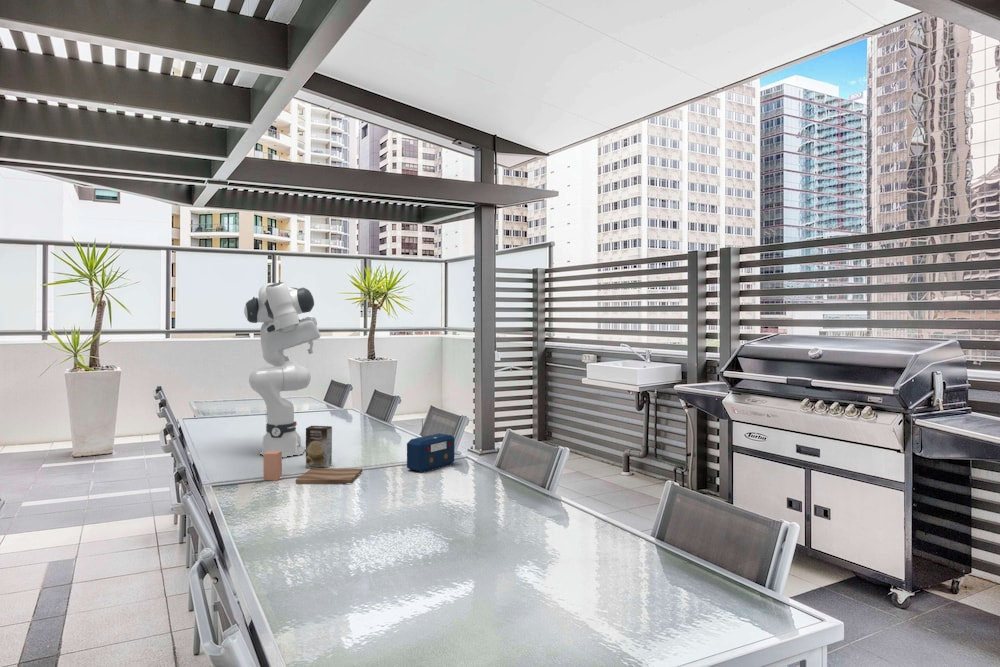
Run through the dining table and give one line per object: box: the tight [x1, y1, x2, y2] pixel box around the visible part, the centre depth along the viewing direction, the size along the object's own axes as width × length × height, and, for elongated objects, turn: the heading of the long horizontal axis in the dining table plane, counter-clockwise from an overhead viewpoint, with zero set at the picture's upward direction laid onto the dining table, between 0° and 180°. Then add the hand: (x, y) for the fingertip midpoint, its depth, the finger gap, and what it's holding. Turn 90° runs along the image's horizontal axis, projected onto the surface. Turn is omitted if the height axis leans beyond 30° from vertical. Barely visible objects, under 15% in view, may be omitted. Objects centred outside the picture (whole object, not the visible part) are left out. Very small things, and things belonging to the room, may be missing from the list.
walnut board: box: [295, 467, 363, 485], centre depth 241 cm, size 18×20×2 cm
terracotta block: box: [262, 451, 283, 482], centre depth 239 cm, size 5×5×10 cm
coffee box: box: [305, 425, 333, 468], centre depth 260 cm, size 9×6×16 cm
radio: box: [406, 419, 455, 473], centre depth 258 cm, size 21×9×20 cm, turn 143°
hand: (299, 357), depth 246 cm, fingers open, 8 cm apart
